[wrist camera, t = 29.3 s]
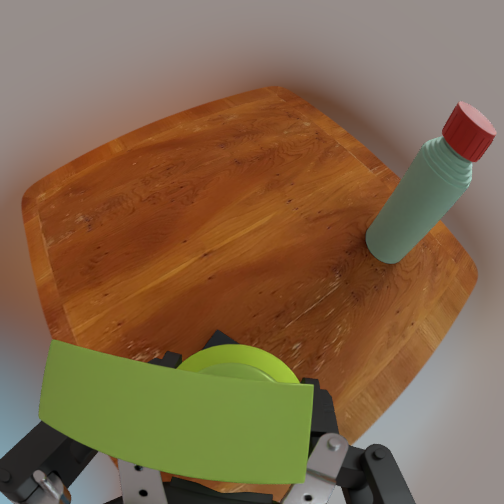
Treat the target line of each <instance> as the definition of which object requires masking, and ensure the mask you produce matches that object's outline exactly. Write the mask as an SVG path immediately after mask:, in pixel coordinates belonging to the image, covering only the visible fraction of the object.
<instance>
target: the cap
mask: <svg viewBox="0 0 504 504" xmlns="http://www.w3.org/2000/svg"><path fill="white" fill-rule="evenodd" d="M442 134H443V137H444V139H445V140H446V142H447V143H448V144H449V145H450V146H451V147H452V148H453V149H454V150H455V151H456V152H457V153H458V154H459V155H461V156H462V157H463V158H465V159H467V160H469V161H471V162H477V161H478V160H479V159H480V158H481V157H482V155H483V154H484V152H485V151H486V150H487V148H488V147H489V146H490V144H491V143H492V141H493V139H494V137H495V136H496V130H495V129H494V127H493V125H492V124H491V123H490V121H489V120H488V119H487V118H486V117H485V116H483V114H482V113H480V112H479V111H478V110H477V109H475V108H474V107H472V106H471V105H469V104H467V103H465V102H462V101H459V102H458V104H457V106H456V107H455V108H454V110H453V112H452V114H451V115H450V117H449V119H448V120H447V122H446V124H445V126H444V128H443V130H442Z"/></svg>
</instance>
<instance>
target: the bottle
mask: <svg viewBox="0 0 504 504" xmlns="http://www.w3.org/2000/svg"><path fill="white" fill-rule="evenodd" d="M471 180H472V162H471V161H469V160H467V159H465V158H463V157H462V156H461V155H459V154H458V153H457V152H456V151H455V150H454V149H453V148H452V147H451V146H450V145H449V144H448V143H447V142H446V140H445V139H444V137H443V136H442V137H438V138H434V139H433V140H429V141H427V142H426V143H425V144H423V146H422V147H421V149H420V151H419V153H418V154H417V156H416V157H415V159H414V160H413V162H412V164H411V165H410V167H409V168H408V170H407V172H406V173H405V175H404V176H403V178H402V179H401V181H400V183H399V184H398V186H397V187H396V189H395V190H394V192H393V193H392V195H391V196H390V198H389V199H388V201H387V202H386V204H385V205H384V207H383V208H382V210H381V211H380V213H379V214H378V215H377V217H376V218H375V220H374V221H373V223H372V224H371V225H370V227H369V228H368V230H367V232H366V244H367V246H368V249H369V250H370V252H371V253H372V254H373V255H374V256H375V257H376V258H377V259H378V260H380V261H382V262H384V263H388V264H393V263H397V262H399V261H400V260H401V259H402V258H403V257H404V256H405V255H406V254H407V253H408V252H409V251H410V250H411V249H412V248H413V247H414V246H415V245H416V244H417V243H418V242H419V241H420V240H421V239H422V238H423V237H424V236H425V235H426V234H427V233H428V232H429V231H430V230H431V229H432V228H433V227H434V226H435V224H436V223H437V222H438V221H439V220H440V219H441V218H442V217H443V216H444V214H445V213H446V212H447V211H448V210H449V209H450V208H451V207H452V206H453V204H454V203H455V202H456V201H457V200H458V199H459V198H460V196H461V195H462V194H463V193H464V192H465V191H466V189H467V188H468V187H469V185H470V182H471Z"/></svg>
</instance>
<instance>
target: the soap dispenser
mask: <svg viewBox="0 0 504 504" xmlns="http://www.w3.org/2000/svg"><path fill="white" fill-rule="evenodd" d="M313 392H314V385H313V384H300V382H299V380H298V379H297V377H296V376H295V374H294V373H293V372H292V371H291V370H290V368H289V367H288V366H287V365H286V364H284V363H283V362H282V361H281V360H279V359H278V358H277V357H275V356H273V355H272V354H270V353H268V352H266V351H264V350H261V349H258V348H255V347H251V346H247V345H239V344H226V345H218V346H214V347H210V348H207V349H204V350H202V351H199V352H197V353H196V354H194V355H192V356H190V357H189V358H188V359H186V360H185V361H184V362H183V363H181V364H180V365H179V366H178V367H177V368H176V369H174V368H169V367H164V366H159V365H154V364H149V363H144V362H140V361H135V360H131V359H126V358H122V357H118V356H114V355H110V354H106V353H102V352H98V351H94V350H90V349H86V348H82V347H79V346H75V345H72V344H68V343H65V342H61V341H58V340H52V341H51V344H50V348H49V353H48V357H47V362H46V367H45V372H44V377H43V383H42V390H41V397H40V404H39V418H40V419H41V420H42V421H43V422H44V423H46V424H48V425H49V426H51V427H52V428H54V429H56V430H57V431H59V432H61V433H63V434H64V435H66V436H68V437H70V438H72V439H74V440H76V441H78V442H80V443H82V444H84V445H86V446H88V447H90V448H92V449H95V450H97V451H100V452H102V453H104V454H107V455H110V456H112V457H115V458H118V459H121V460H123V461H127V462H130V463H133V464H136V465H139V466H143V467H147V468H150V469H154V470H158V471H162V472H167V473H171V474H176V475H181V476H187V477H193V478H199V479H206V480H214V481H223V482H234V483H250V484H301V483H304V482H305V476H306V468H307V459H308V450H309V441H310V430H311V419H312V406H313Z"/></svg>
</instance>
